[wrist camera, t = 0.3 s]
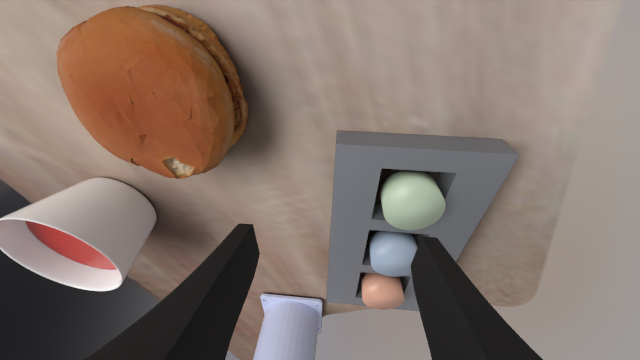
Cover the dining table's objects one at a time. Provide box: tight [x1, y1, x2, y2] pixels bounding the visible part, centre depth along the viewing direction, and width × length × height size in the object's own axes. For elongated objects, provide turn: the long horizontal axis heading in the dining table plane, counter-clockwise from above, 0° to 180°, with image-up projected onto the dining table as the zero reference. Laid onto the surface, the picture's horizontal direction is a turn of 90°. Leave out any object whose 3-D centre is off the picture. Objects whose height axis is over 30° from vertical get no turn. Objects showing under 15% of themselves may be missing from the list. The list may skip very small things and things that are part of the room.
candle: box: [0, 177, 157, 291], centre depth 21 cm, size 9×9×6 cm
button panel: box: [326, 131, 519, 311], centre depth 21 cm, size 20×11×2 cm, turn 179°
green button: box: [380, 170, 446, 230], centre depth 17 cm, size 4×4×2 cm
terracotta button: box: [361, 273, 404, 309], centre depth 24 cm, size 4×4×2 cm
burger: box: [57, 5, 248, 179], centre depth 14 cm, size 10×9×5 cm
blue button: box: [369, 231, 417, 277], centre depth 21 cm, size 4×4×2 cm
